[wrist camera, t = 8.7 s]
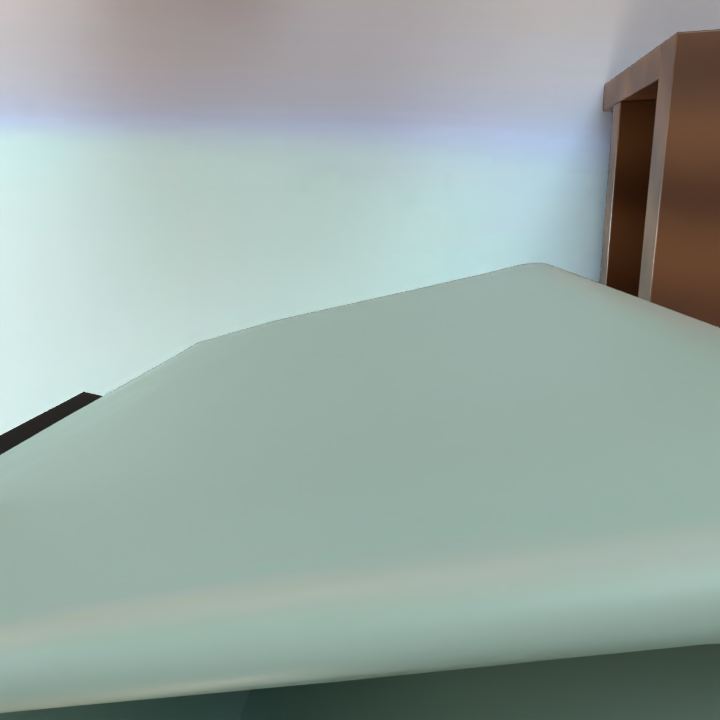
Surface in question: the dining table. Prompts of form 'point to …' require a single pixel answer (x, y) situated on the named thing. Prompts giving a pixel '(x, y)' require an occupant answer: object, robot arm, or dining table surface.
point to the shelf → (666, 177)
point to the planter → (382, 519)
